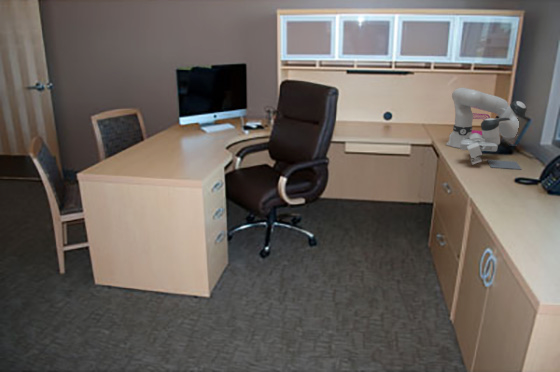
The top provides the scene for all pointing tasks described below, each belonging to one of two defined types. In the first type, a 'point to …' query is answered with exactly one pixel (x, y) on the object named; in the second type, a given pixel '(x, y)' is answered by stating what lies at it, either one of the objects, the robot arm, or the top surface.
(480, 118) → the file sorter
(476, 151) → the security camera
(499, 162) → the desk pad
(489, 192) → the top surface
